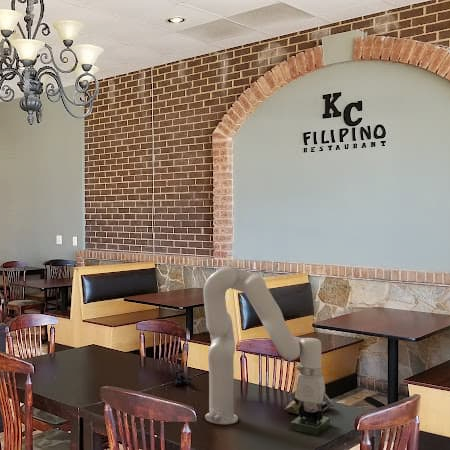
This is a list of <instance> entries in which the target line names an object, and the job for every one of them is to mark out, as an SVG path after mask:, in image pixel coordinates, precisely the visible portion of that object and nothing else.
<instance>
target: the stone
mask: <svg viewBox="0 0 450 450" xmlns="http://www.w3.org/2000/svg"><path fill="white" fill-rule="evenodd" d="M322 403H323V405H324V404H325V403H326V402H322ZM303 406H304V407H305V409H306V408H314V409H316V410H317V411H318V407H317V404H315V403H309V402H304V403H303ZM331 407H335V406H334V404H330V405H328V406H327V407H326V408H325V409H323V412H325V411H328V410H330V408H331ZM284 411H286V412H289V413H292V414H296V415H299V407H298V405H297V404H296V403H295V401H294V400H292V401H291V402H290V403H288V404H287V406H286V407H285V408H284Z"/></svg>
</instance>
